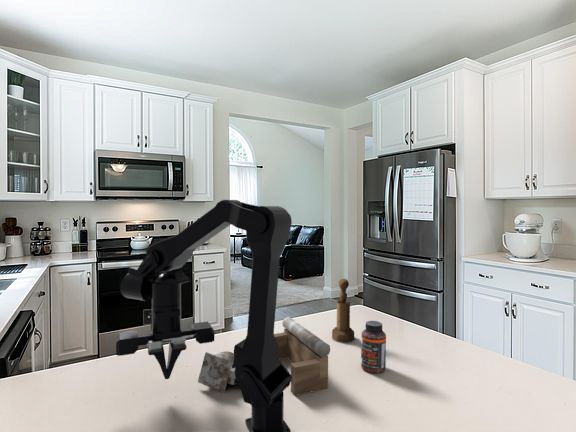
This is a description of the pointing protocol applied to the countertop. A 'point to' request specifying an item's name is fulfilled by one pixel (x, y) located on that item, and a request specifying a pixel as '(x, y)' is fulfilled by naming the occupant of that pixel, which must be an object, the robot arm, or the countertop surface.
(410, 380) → the countertop surface
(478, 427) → the countertop surface
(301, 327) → the cradle
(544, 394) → the countertop surface
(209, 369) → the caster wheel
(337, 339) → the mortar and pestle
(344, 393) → the countertop surface
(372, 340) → the supplement bottle
